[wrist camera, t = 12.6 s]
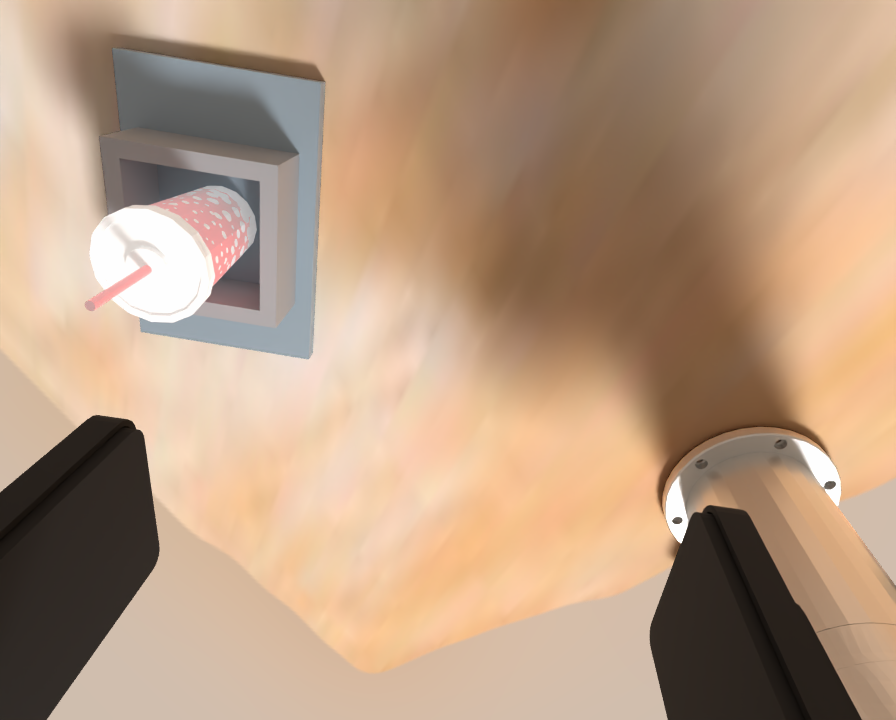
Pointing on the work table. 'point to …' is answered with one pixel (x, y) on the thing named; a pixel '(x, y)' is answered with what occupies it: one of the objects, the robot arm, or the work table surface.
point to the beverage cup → (169, 252)
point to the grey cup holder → (228, 184)
